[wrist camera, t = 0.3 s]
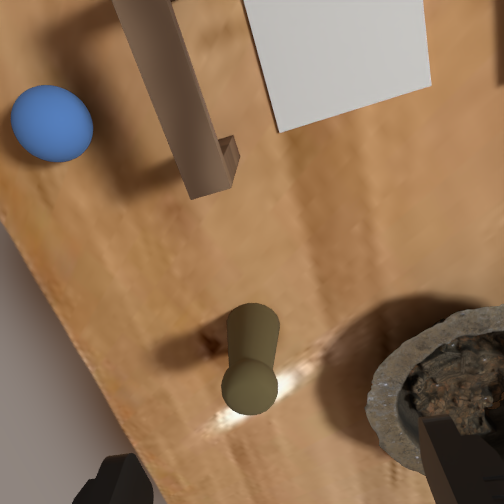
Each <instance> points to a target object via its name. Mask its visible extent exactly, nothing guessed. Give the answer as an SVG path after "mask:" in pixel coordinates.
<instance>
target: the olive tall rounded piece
mask: <svg viewBox="0 0 504 504" xmlns="http://www.w3.org/2000/svg"><path fill="white" fill-rule="evenodd" d="M279 329H280V322H279V319H278V316H277V315H276V314H275V312H274V311H273V310H272V309H270V308H269V307H267V306H265V305H262V304H258V303H247V304H244V305H240V306H238V307H237V308H235V309H234V310H233V311H232V312H231V313H230V315H229V316H228V319H227V337H228V357H229V368H228V369H227V370H226V372H225V374H224V377H223V380H222V384H221V389H222V396H223V399H224V400H225V402H226V404H227V405H228V406H229V407H230V408H231V409H232V410H233V411H235V412H237V413H239V414H243V415H257V414H261V413H263V412H265V411H267V410H268V409H269V408H270V407H271V406H272V405H273V404H274V402H275V399H276V397H277V394H278V381H277V379H276V376H275V374H274V371H273V365H274V359H275V353H276V347H277V341H278V335H279Z"/></svg>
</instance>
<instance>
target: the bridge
mask: <svg viewBox="0 0 504 504" xmlns="http://www.w3.org/2000/svg"><path fill="white" fill-rule="evenodd" d="M172 1H175V0H112V3H113V5H114V8H115V10H116V13H117V15H118V18H119V20H120V23H121V25H122V28H123V30H124V33H125V35H126V38H127V40H128V43H129V46H130V48H131V51H132V53H133V56H134V58H135V61H136V63H137V66H138V68H139V71H140V73H141V76H142V78H143V81H144V83H145V86H146V88H147V91H148V93H149V96H150V98H151V101H152V104H153V106H154V109H155V111H156V114H157V116H158V119H159V121H160V124H161V126H162V129H163V131H164V134H165V136H166V139H167V141H168V144H169V146H170V149H171V151H172V154H173V156H174V159H175V161H176V164H177V167H178V169H179V172H180V174H181V177H182V179H183V182H184V184H185V187H186V189H187V192H188V194H189V197H190V199H191V200H192V199H196V198H199V197H203V196H206V195H209V194H213V193H216V192H220V191H223V190H226V189H230V188H231V187H232V183H233V180H234V176H235V173H236V169H237V166H238V162H239V159H240V154H239V151H238V148H237V145H236V142H235V139H234V136H233V135H232V136H229V137H225V138H222V139H219V140H218V139H217V136H216V133H215V130H214V127H213V124H212V122H211V119H210V116H209V113H208V110H207V107H206V104H205V101H204V98H203V95H202V92H201V89H200V86H199V83H198V80H197V78H196V75H195V72H194V69H193V66H192V63H191V60H190V57H189V54H188V51H187V48H186V45H185V42H184V39H183V37H182V34H181V31H180V28H179V25H178V22H177V19H176V16H175V13H174V10H173V7H172V4H171V2H172Z"/></svg>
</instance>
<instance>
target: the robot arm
mask: <svg viewBox="0 0 504 504" xmlns="http://www.w3.org/2000/svg"><path fill="white" fill-rule="evenodd" d="M418 427H419V441H420V455H421V460H422V465H423V469H424V472H425V475H426V478H427V481H428V484H429V487H430V489H431V492H432V494H433V497H434V500H435V502H436V504H504V463H503V461H502V459H501V458H500V456H499V454H498V453H497V451H496V450H495V449H493V448H492V447H491V446H490V445H489V444H488V443H487V442H486V441H485V440H483V439H482V438H481V437H480V436H479V435H478V434H472V435H464V436H461V435H460V433H459V431H458V429H457V427H456V425H455V423H454V421H453V420H452V418H451V416H450V415H449V414H441V415H434V416H426V417H419V418H418ZM72 504H153V488H152V484H151V482H150V480H149V478H148V477H147V475H146V473H145V471H144V470H143V468H142V466H141V464H140V463H139V461H138V459H137V457H136V455H135V454H133V453H129V454H121V455H113V456H108V457H106V458H105V459H104V461H103V462H102V464H101V467H100V469H99V471H98V474H97V476H96V478H95V479H89V480H88V481H87V482H86V484H85V485H84V487H83V488H82V489H81V490H80V492H79V493H78V494H77V496H76V497H75V498H74V501H73V502H72Z"/></svg>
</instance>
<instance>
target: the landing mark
mask: <svg viewBox="0 0 504 504" xmlns="http://www.w3.org/2000/svg"><path fill="white" fill-rule="evenodd" d="M244 4H245V7H246V11H247V15H248V19H249V22H250V26H251V30H252V33H253V37H254V41H255V44H256V48H257V52H258V55H259V59H260V63H261V66H262V70H263V74H264V77H265V81H266V85H267V88H268V92H269V96H270V100H271V103H272V107H273V111H274V114H275V118H276V122H277V125H278V129H279V133H281V132H284V131H288V130H291V129H294V128H297V127H300V126H304V125H307V124H310V123H313V122H316V121H320V120H323V119H326V118H329V117H332V116H336V115H339V114H342V113H345V112H348V111H352V110H355V109H358V108H361V107H364V106H368V105H371V104H374V103H377V102H380V101H384V100H387V99H390V98H393V97H396V96H400V95H403V94H406V93H409V92H413V91H416V90H419V89H422V88H425V87H429V86H431V77H430V67H429V57H428V47H427V37H426V27H425V17H424V8H423V0H244Z"/></svg>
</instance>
